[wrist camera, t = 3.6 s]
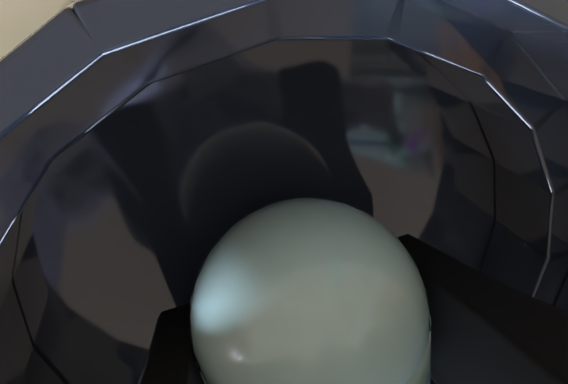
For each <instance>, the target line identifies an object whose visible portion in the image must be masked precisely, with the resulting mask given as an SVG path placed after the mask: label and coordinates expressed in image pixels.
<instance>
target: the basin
mask: <svg viewBox="0 0 568 384" xmlns="http://www.w3.org/2000/svg"><path fill="white" fill-rule="evenodd" d="M296 197H321V198H327V199H332V200H336V201H339V202H343V203H346V204H349V205H352V206H354V207H357V208H359V209H361V210H363V211H365V212H366V213H368V214H370V215H371V216H373V217H374V218H376V219H377V220H378V221H380V222H381V223H383V224H384V225H385V226H386V227H387V228H388V229H390V230H391V231H392V232H393V233H394V234H395V235H396V236H397V237H399V236H402V235H406V234H409V235H411V236H413V237H415V238H417V239H419V240H421V241H423V242H425V243H427V244H428V245H430V246H432V247H434V248H436V249H438V250H440V251H441V252H443V253H445V254H447V255H449V256H451V257H453V258H455V259H456V260H458V261H460V262H462V263H464V264H466V265H468V266H470V267H472V268H474V269H475V270H477V271H479V272H481V273H483V274H485V275H487V276H489V277H491V278H493V279H495V280H497V281H499V282H501V283H503V284H505V285H508V286H510V287H512V288H514V289H516V290H518V291H520V292H522V293H525V294H527V295H529V296H531V297H533V298H536V299H538V300H540V301H542V302H545V303H547V304H549V305H551V306H554V307H556V308H558V309H561V310H563V311H565V312H568V0H76V1H75V2H73V3H71V4H69V5H68V6H66V7H64V8H63V9H62V10H60V11H59V12H58V13H57V14H56V15H54V16H53V17H52V18H51V19H49V20H48V21H47V22H46V23H44V24H43V25H42V26H41V27H40V28H38V29H37V30H36V31H35V32H33V33H32V34H31V35H30V36H28V37H27V38H26V39H25V40H24V41H22V42H21V43H20V44H19V45H17V46H16V47H15V48H14V49H13V50H11V51H10V52H9V53H8V54H6V55H5V56H4V57H3V58H1V59H0V384H138V382H139V379H140V376H141V373H142V370H143V367H144V364H145V361H146V358H147V355H148V352H149V348H150V345H151V341H152V338H153V334H154V331H155V327H156V323H157V319H158V316H159V315H160V313H161V312H162V311H166V310H169V309H172V308H175V307H178V306H181V305H185V304H188V303H190V302H191V296H192V293H193V289H194V286H195V283H196V279H197V276H198V273H199V270H200V267H201V265H202V264H203V262H204V260H205V258H206V256H207V255H208V253H209V252H210V250H211V249H212V247H213V246H214V244H215V243H216V241H217V240H218V239H219V238H220V237H221V236H222V234H223V233H224V232H225V231H226V230H228V229H229V228H230V227H231V226H232V225H233V224H235V223H236V222H237V221H238V220H240V219H241V218H242V217H244V216H245V215H247V214H248V213H250V212H252V211H253V210H255V209H257V208H259V207H262V206H264V205H267V204H269V203H272V202H275V201H279V200H284V199H288V198H296ZM430 384H435V383H434V381H433V380H432V379H431V382H430Z"/></svg>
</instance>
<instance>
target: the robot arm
mask: <svg viewBox="0 0 568 384" xmlns="http://www.w3.org/2000/svg"><path fill="white" fill-rule="evenodd" d="M397 238H398V239H399V240H400V241H401V243H402V244H403V245H404V246H405V248H406V249H407V251H408V252H409V253H410V255H411V256H412V258H413V259H414V261H415V263H416V265H417V268H418V270H419V272H420V275H421V277H422V280H423V283H424V285H425V288H426V291H427V295H428V302H429V310H430V318H431V379H432V380H433V381H434V383H435V384H568V312H565V311H563V310H561V309H558V308H556V307H554V306H551V305H549V304H547V303H545V302H542V301H540V300H538V299H536V298H533V297H531V296H529V295H527V294H525V293H522V292H520V291H518V290H516V289H514V288H512V287H510V286H508V285H505V284H503V283H501V282H499V281H497V280H495V279H493V278H491V277H489V276H487V275H485V274H483V273H481V272H479V271H477V270H475V269H474V268H472V267H470V266H468V265H466V264H464V263H462V262H460V261H458V260H456V259H455V258H453V257H451V256H449V255H447V254H445V253H443V252H441V251H440V250H438V249H436V248H434V247H432V246H430V245H428V244H427V243H425V242H423V241H421V240H419V239H417V238H415V237H413V236H411V235H409V234H406V235H402V236H399V237H397ZM138 384H204V381H203V379H202V377H201V374H200V372H199V370H198V367H197V364H196V358H195V354H194V350H193V346H192V342H191V338H190V303H188V304H185V305H181V306H178V307H175V308H172V309H169V310H166V311H162V312H161V313H160V315H159V316H158V319H157V323H156V327H155V331H154V334H153V338H152V341H151V345H150V348H149V352H148V355H147V358H146V361H145V364H144V367H143V370H142V373H141V376H140V379H139V382H138Z"/></svg>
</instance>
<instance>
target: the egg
mask: <svg viewBox="0 0 568 384" xmlns="http://www.w3.org/2000/svg"><path fill="white" fill-rule="evenodd" d="M190 338H191V342H192V346H193V350H194V354H195V358H196V364H197V367H198V370H199V372H200V374H201V377H202V379H203V381H204V384H430V382H431V318H430V310H429V302H428V295H427V291H426V288H425V285H424V283H423V280H422V277H421V275H420V272H419V270H418V268H417V265H416V263H415V261H414V259H413V258H412V256H411V255H410V253H409V252H408V251H407V249H406V248H405V246H404V245H403V244H402V243H401V241H400V240H399V239H398V238H397V236H396V235H395V234H394V233H393V232H392V231H391V230H390V229H388V228H387V227H386V226H385V225H384V224H383V223H381V222H380V221H378V220H377V219H376V218H374V217H373V216H371V215H370V214H368V213H366V212H365V211H363V210H361V209H359V208H357V207H354V206H352V205H349V204H346V203H343V202H339V201H336V200H332V199H327V198H321V197H296V198H288V199H284V200H279V201H275V202H272V203H269V204H267V205H264V206H262V207H259V208H257V209H255V210H253V211H252V212H250V213H248V214H247V215H245V216H244V217H242V218H241V219H240V220H238V221H237V222H236V223H235V224H233V225H232V226H231V227H230V228H229V229H228V230H226V231H225V232H224V233H223V234H222V236H221V237H220V238H219V239H218V240H217V241H216V243H215V244H214V246H213V247H212V249H211V250H210V252H209V253H208V255H207V256H206V258H205V260H204V262H203V264H202V265H201V267H200V270H199V273H198V276H197V279H196V283H195V286H194V289H193V293H192V296H191V302H190Z"/></svg>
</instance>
